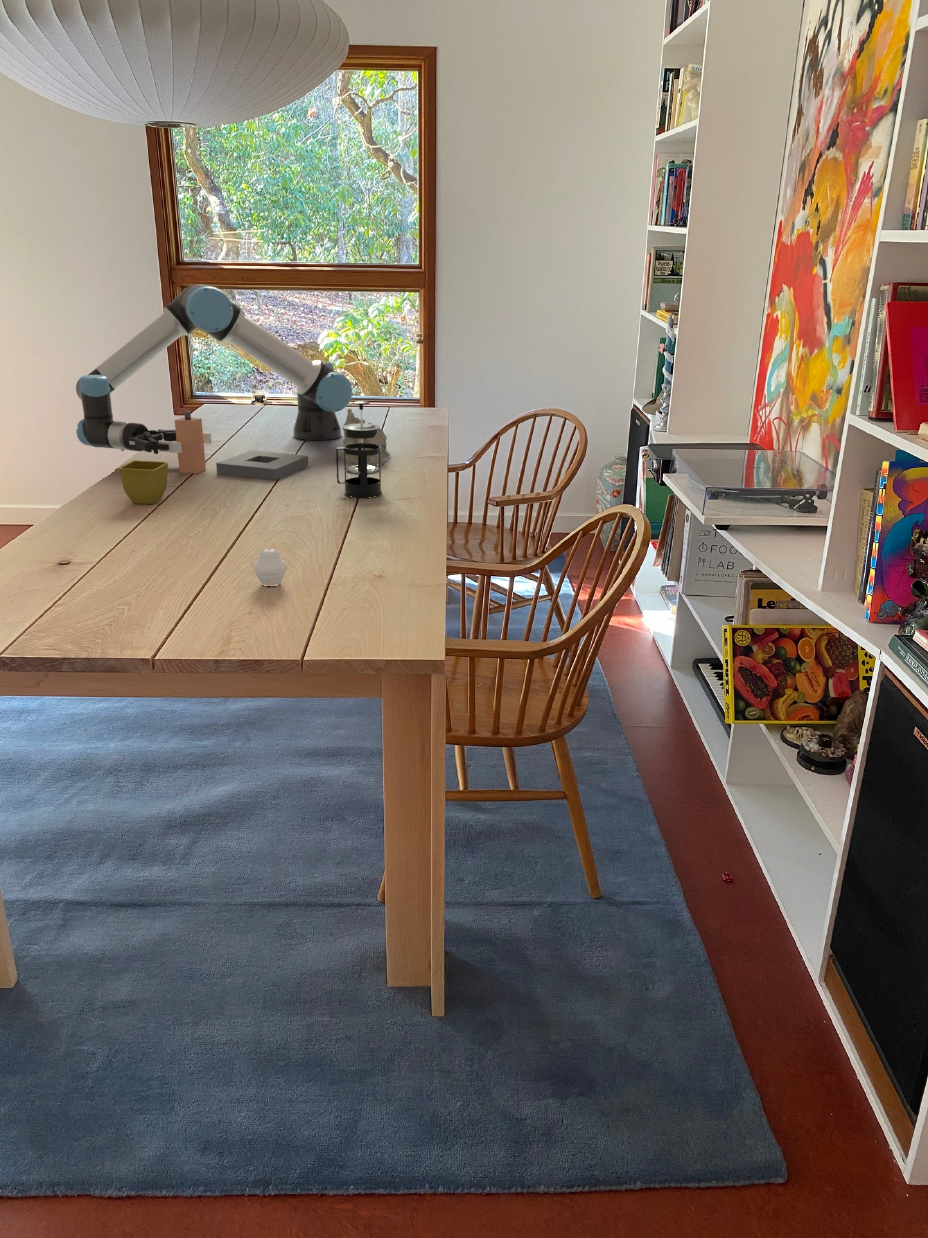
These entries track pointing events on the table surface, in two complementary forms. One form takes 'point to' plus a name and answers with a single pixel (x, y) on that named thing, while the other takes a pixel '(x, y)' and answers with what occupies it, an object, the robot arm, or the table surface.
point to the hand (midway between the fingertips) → (195, 442)
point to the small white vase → (270, 567)
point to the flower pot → (144, 480)
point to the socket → (262, 465)
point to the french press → (361, 460)
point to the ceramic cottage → (378, 439)
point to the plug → (190, 444)
